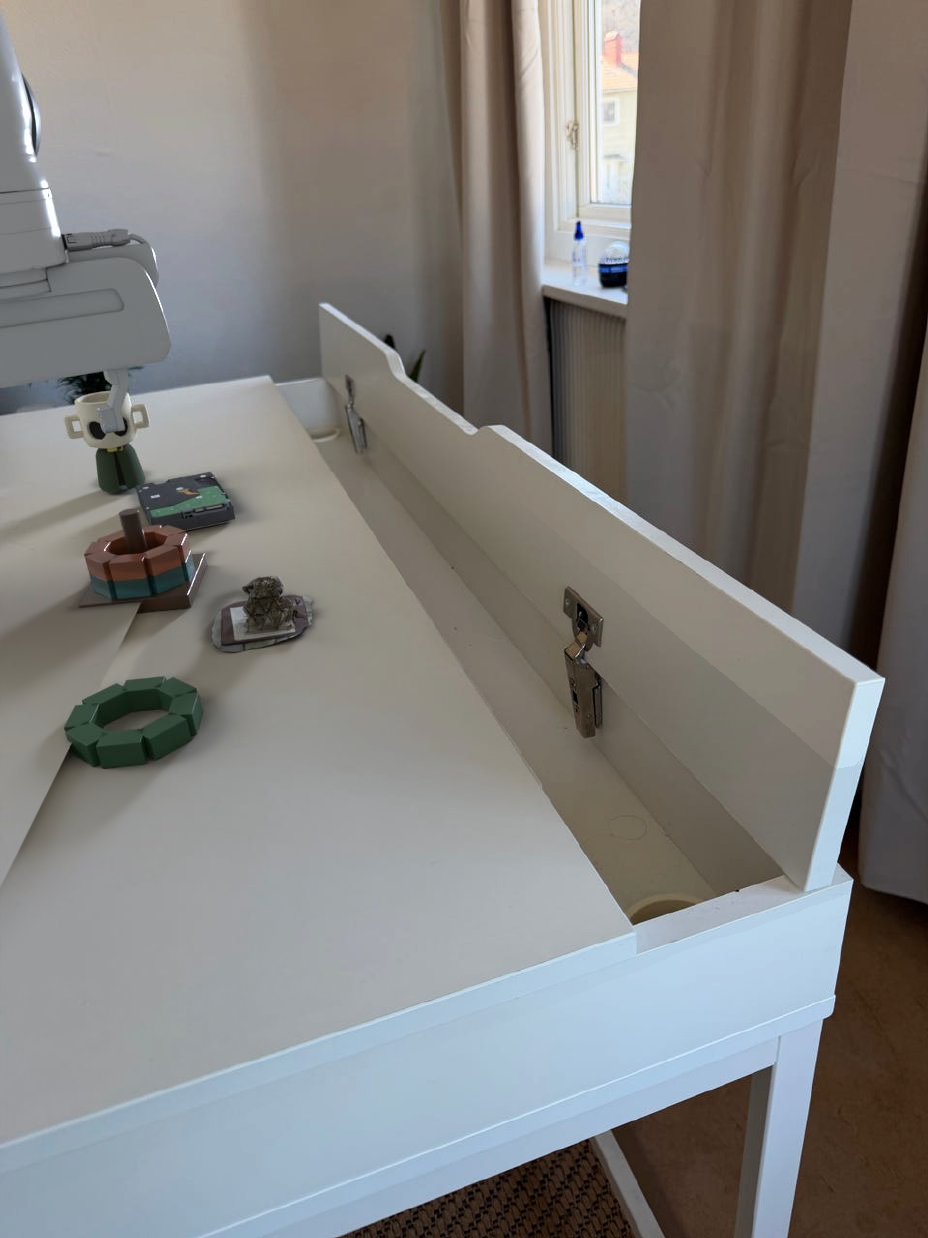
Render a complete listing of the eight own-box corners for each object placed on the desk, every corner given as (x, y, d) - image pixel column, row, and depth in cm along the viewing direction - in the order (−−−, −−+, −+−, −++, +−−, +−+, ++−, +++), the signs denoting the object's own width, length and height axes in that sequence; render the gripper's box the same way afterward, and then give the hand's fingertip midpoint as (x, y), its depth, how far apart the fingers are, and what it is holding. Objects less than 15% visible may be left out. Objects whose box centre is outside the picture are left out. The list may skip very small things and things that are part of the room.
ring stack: (82, 618, 96) (58, 536, 92) (108, 574, 106) (88, 498, 102) (191, 607, 96) (172, 525, 92) (207, 565, 106) (191, 489, 102)
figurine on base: (275, 573, 100) (330, 557, 92) (292, 632, 100) (347, 622, 92) (170, 599, 92) (219, 585, 84) (189, 663, 93) (239, 655, 84)
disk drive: (138, 505, 127) (154, 538, 114) (133, 485, 126) (149, 517, 113) (215, 489, 130) (238, 521, 118) (211, 470, 129) (234, 499, 117)
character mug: (83, 502, 129) (58, 408, 123) (83, 487, 135) (59, 397, 129) (165, 488, 132) (144, 395, 126) (161, 474, 138) (141, 385, 132)
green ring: (57, 773, 72) (50, 751, 71) (91, 704, 81) (86, 683, 80) (190, 759, 72) (184, 737, 71) (209, 691, 81) (205, 671, 80)
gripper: (138, 223, 70) (177, 408, 76) (-179, 257, 61) (-106, 461, 68) (158, 226, 65) (198, 424, 71) (-184, 263, 56) (-104, 484, 63)
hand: (48, 443), depth 69 cm, fingers open, 8 cm apart
